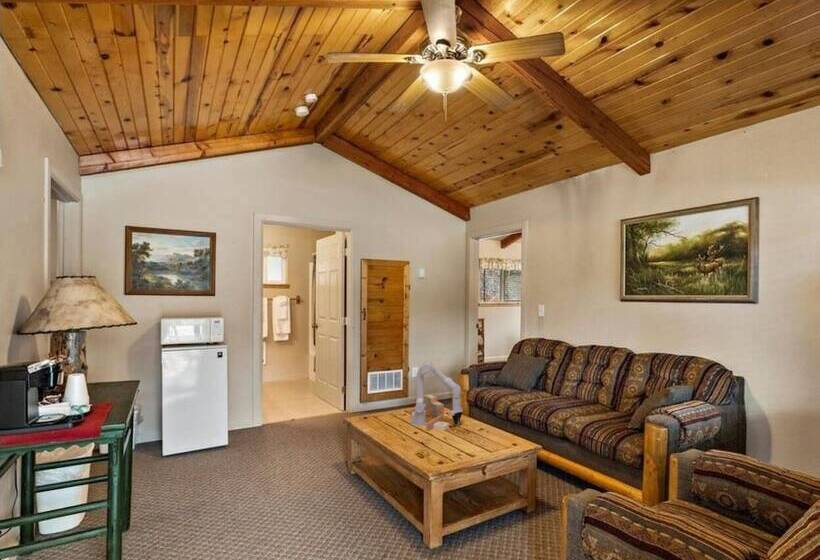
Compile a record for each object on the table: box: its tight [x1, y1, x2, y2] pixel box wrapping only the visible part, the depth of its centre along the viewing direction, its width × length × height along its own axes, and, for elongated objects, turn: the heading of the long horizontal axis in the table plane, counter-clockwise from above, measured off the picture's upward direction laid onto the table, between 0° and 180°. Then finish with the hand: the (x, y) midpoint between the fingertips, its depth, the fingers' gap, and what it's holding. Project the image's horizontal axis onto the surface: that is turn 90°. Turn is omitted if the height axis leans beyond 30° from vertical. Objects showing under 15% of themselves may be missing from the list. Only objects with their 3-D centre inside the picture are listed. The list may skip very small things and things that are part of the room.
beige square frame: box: [433, 421, 450, 431], centre depth 291 cm, size 8×8×2 cm
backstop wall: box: [426, 415, 443, 432], centre depth 294 cm, size 2×20×5 cm, turn 150°
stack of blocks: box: [424, 393, 445, 418], centre depth 328 cm, size 21×6×12 cm, turn 26°
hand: (456, 423), depth 294 cm, fingers closed on birch dowel, 2 cm apart
